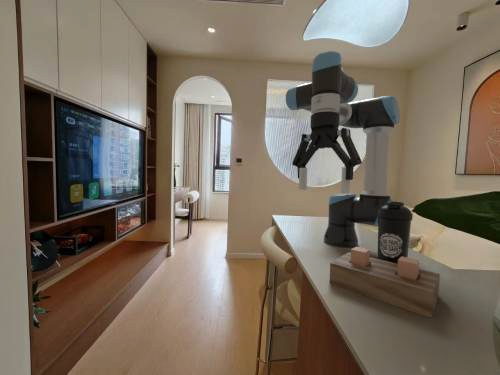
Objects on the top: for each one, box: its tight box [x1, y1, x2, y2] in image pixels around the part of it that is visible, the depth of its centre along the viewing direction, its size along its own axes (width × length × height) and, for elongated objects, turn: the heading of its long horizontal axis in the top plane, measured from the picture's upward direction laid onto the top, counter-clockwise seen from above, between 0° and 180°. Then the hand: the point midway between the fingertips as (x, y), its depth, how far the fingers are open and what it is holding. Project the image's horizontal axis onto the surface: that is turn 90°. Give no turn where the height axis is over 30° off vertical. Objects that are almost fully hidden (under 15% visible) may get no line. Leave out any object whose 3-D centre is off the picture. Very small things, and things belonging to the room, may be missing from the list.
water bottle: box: [377, 201, 414, 264], centre depth 80 cm, size 10×10×23 cm
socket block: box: [329, 251, 441, 319], centre depth 66 cm, size 14×24×6 cm, turn 46°
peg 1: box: [350, 246, 371, 267], centre depth 70 cm, size 4×4×6 cm
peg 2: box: [397, 256, 420, 281], centre depth 62 cm, size 4×4×6 cm
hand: (322, 191), depth 66 cm, fingers open, 13 cm apart
